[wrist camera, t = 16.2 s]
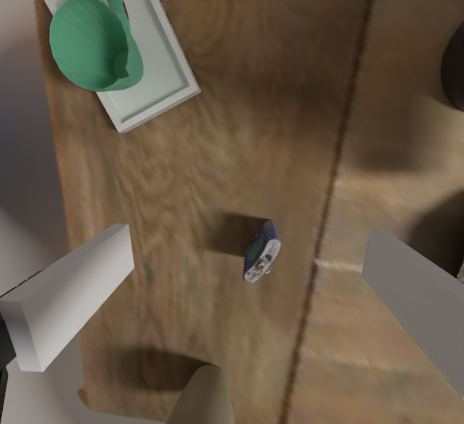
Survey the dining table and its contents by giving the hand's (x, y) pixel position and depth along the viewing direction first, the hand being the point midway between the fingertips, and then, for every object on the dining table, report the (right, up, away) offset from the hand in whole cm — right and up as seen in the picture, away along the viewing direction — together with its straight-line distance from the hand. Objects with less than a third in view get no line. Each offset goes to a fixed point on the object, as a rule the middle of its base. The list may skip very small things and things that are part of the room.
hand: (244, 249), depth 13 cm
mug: (-17, +27, +24) cm, 40 cm away
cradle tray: (-17, +28, +25) cm, 41 cm away
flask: (+5, -3, +33) cm, 34 cm away
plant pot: (-6, -37, +45) cm, 58 cm away
